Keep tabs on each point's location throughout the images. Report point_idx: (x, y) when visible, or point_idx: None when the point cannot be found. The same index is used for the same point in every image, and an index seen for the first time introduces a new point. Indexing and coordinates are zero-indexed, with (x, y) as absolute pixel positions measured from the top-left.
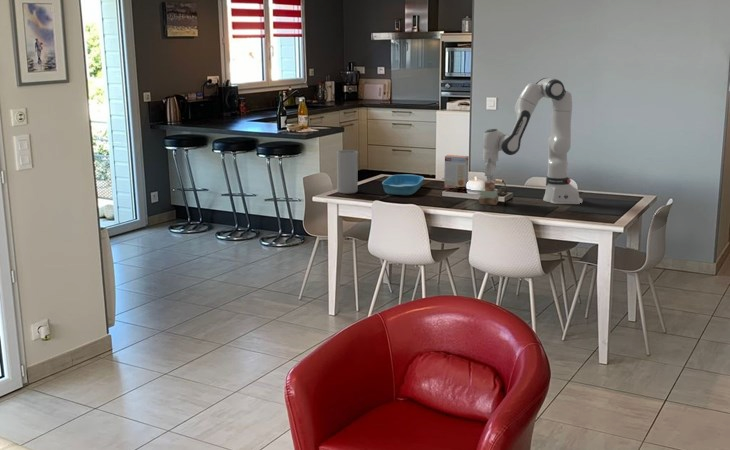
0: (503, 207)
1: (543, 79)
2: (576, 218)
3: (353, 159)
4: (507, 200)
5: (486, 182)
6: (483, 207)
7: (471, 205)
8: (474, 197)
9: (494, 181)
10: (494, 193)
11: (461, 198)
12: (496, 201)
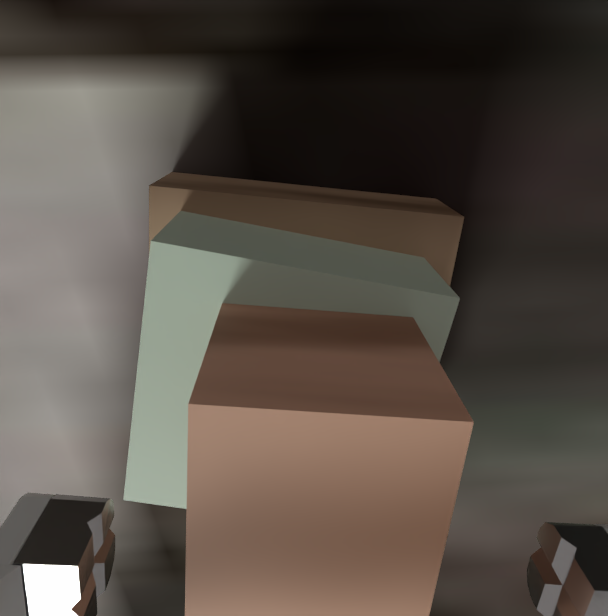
0: (598, 78)
1: None
2: None
3: None
4: (52, 12)
5: (431, 593)
6: (596, 358)
7: (487, 491)
8: (17, 489)
9: (273, 413)
10: (430, 281)
11: (128, 606)
12: (422, 204)
